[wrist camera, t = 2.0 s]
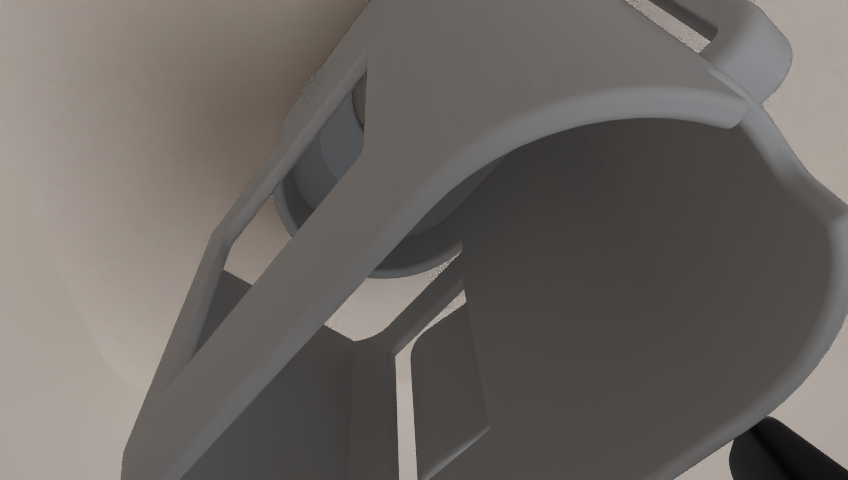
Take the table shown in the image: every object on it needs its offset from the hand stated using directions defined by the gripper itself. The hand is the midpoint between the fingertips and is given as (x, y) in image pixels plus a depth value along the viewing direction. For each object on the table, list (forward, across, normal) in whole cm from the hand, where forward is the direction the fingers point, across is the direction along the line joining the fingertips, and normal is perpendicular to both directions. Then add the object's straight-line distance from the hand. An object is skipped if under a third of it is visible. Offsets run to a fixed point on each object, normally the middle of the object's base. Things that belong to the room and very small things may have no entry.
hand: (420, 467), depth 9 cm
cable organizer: (+12, 0, 0) cm, 12 cm away
